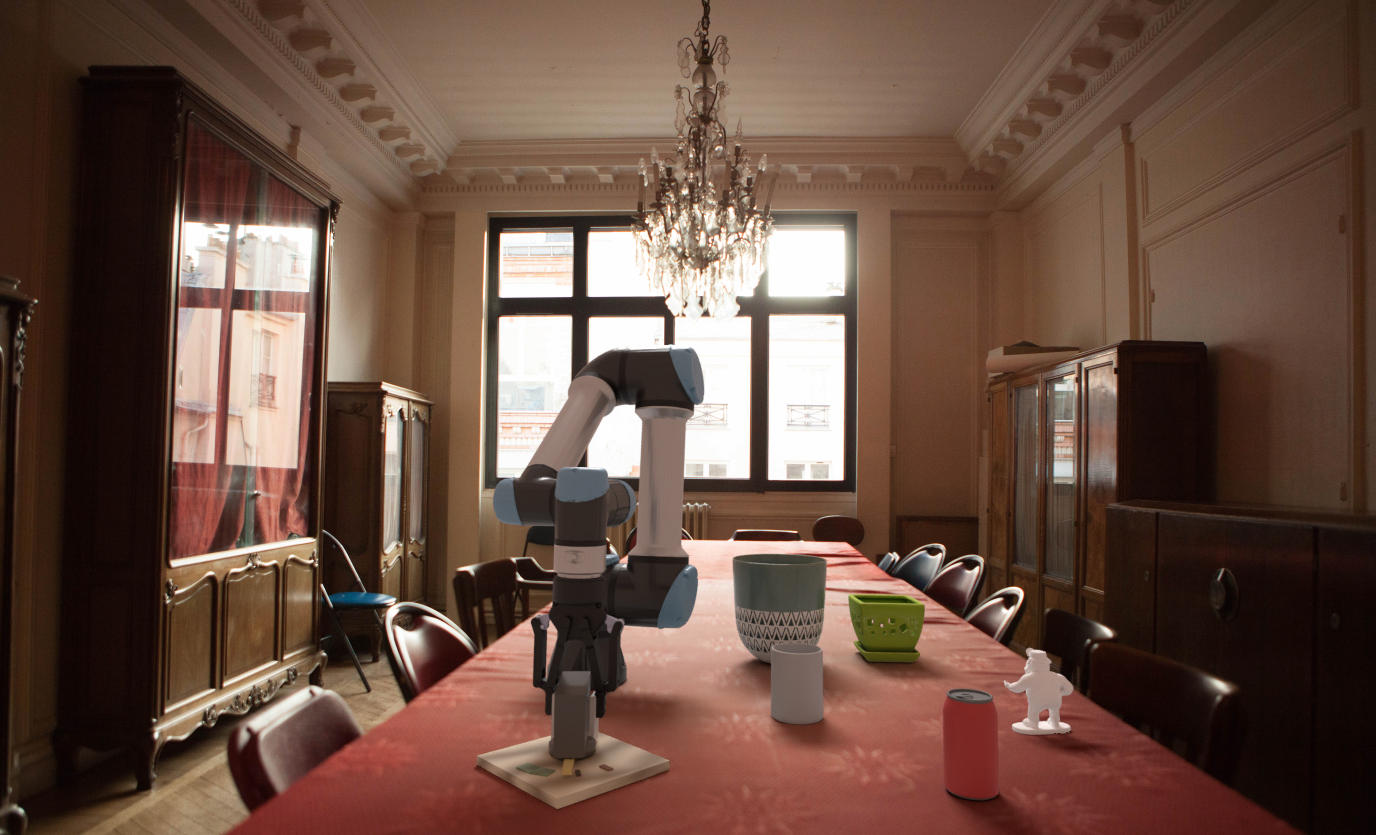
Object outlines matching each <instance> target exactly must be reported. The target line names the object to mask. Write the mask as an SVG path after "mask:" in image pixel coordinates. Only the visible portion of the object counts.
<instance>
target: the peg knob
mask: <svg viewBox="0 0 1376 835" xmlns="http://www.w3.org/2000/svg"><path fill="white" fill-rule="evenodd" d="M590 696H591V689H590V671H563V672H562V675H561V678H560V681H559V684H558V687H557V690H556V692H555V698H554V738H553V739H551V740H550V741H549V754H550V755H551V756H552V757H553V758H558V759H564V763H563V767H562V775H572V771H573V766H574V761H575V759H581V758H586V757H589V756H591V755H593V754H594V753H595V752H596V740H595V738H593V737H591V736H588V734H589V715H590Z"/></svg>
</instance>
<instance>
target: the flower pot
mask: <svg viewBox="0 0 1376 835" xmlns="http://www.w3.org/2000/svg"><path fill="white" fill-rule="evenodd" d="M848 608H849V615H850V616H849V617H850V620H851V624H852V628H853V631H854V633H855V636H856V639H857V640H853V641H852V642H853V645H854V646H855V648H856V649H857V650H858V651H859V653H860V654H861V655H862V657H864V658H865V659H866V660H867V661H868V662H871V663H908V664H912V663H914V662H916V661H917V660H918V659H919V658H920V657H921V652H919V650H918V649H916V647H917V645H918V643H919V641H920V639H921V638H920V637H921V634H922V631H923V627H924V623H925V622H924V621H925V612H926V606H925V604H924V603H923V602H921V601H919V600H918V599H916V598H914V597H912V596H909V595H906V594H875V593H874V594H871V593H869V594H868V593H867V594H866V593H863V594H861V593H850V594H848ZM881 625H882V626H881Z"/></svg>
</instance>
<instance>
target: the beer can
mask: <svg viewBox="0 0 1376 835" xmlns="http://www.w3.org/2000/svg"><path fill="white" fill-rule="evenodd" d="M998 716H999V715H998V710H997V707H996V704H995V702H994V696H993V695H992V694H990V693H989V692H987V691H983V690H980V689H975V688H974V689H973V688H966V687H965V688H964V687H963V688H960V687H959V688H952V689H948V691H946V698H945V700H944V703H943V708H942V753H943V754H942V756H943V757H942V759H943V760H942V761H943V762H942V764H943V765H942V766H943V768H942V769H943V773H942V774H943V786H944V788H945V789H946V790H947V792H949V793H951V794H952V795H953V796H956V797H959V798H960V799H965V800H971V801H988V800H991V799H994V798H995V797H996V796H998V795H999V793H1000V781H999V778H1000V775H999V772H1000V771H999V770H1000V769H999V723H998V722H999V719H998V718H999V717H998Z"/></svg>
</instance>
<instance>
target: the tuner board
mask: <svg viewBox="0 0 1376 835" xmlns="http://www.w3.org/2000/svg"><path fill="white" fill-rule="evenodd" d="M588 736H589V734H588ZM550 740H551V735H548V736H544V737H540V738H536V739H533V740H529V741H526V742H523V743H518V744H514V745H510V746H508V747H504V748H500V749H496V750H492V751H489V752H485V753H482V754H478V755H476V766H478V765H479V767H480V766H481V767H480V768H482V769H484V770H485V769H486V770H485V771H487V772H489V773H491V774H493V775H494V776H496V777H498V778H500V779H502V780H504V781H505V782H508V783H510V784H511V785H513V786H515V787H516V788H518V789H519V790H522V791H524V792H525V793H527V794H529V795H531V796H533V797H534V798H536V799H538V800H540V801H542V802H544V803H545V804H547V805H549V806H551V807H552V808H554V809H556V810H558V809H561V808H565V807H567V806H571V805H573V804H575V803H579V802H581V801H584V800H587V799H591V798H593V797H596V796H598V795H601V794H604V793H605V794H606V793H607V792H611V791H613V790H615V789H619V788H621V787H624V786H627V785H630V784H632V783H635V782H639V781H641V780H644V779H647V778H650V777H652V776H656V775H658V774H661V773H664V772H667V771H669V770H670V765H671V764H670V762H671V760H669V759H667V758H664V757H662V756H659V755H657V754H654V753H652V752H650V751H647V750H644V749H642V748H639V747H637V746H635V745H633V744H630V743H627V742H625V741H623V740H620V739H618V738H615V737H612V736H610V735H608V734H605V733H603V732H600V731H598V738H597V740H596V752H595V753H594V754H593V755H591V756H589V757H586V758H581V759H575V761H574V766H573V771H572V775H562V767H563V763H564V759H558V758H553V757H552V756H551V755H550V754H549V741H550Z"/></svg>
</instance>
